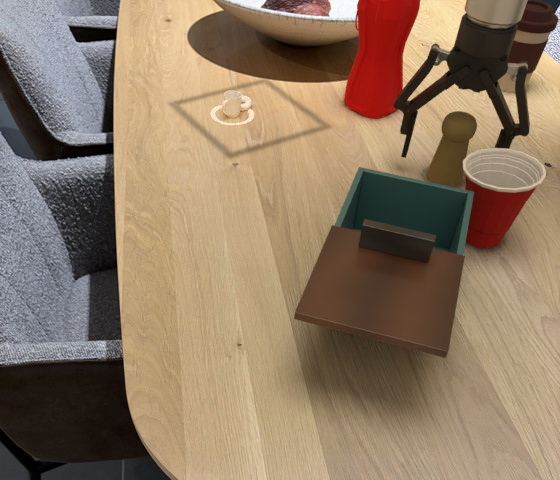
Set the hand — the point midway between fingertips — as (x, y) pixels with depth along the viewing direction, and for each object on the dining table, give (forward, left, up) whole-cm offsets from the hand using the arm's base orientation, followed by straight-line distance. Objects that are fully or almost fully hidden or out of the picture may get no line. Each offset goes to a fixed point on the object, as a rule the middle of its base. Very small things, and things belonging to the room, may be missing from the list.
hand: (446, 162), depth 96 cm
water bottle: (+17, -20, -3) cm, 26 cm away
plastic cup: (-7, +14, -3) cm, 16 cm away
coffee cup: (-8, -40, -3) cm, 41 cm away
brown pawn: (0, 0, -3) cm, 3 cm away
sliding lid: (+4, +42, +7) cm, 43 cm away
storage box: (+4, +26, -3) cm, 26 cm away
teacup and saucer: (+36, -7, -3) cm, 36 cm away
